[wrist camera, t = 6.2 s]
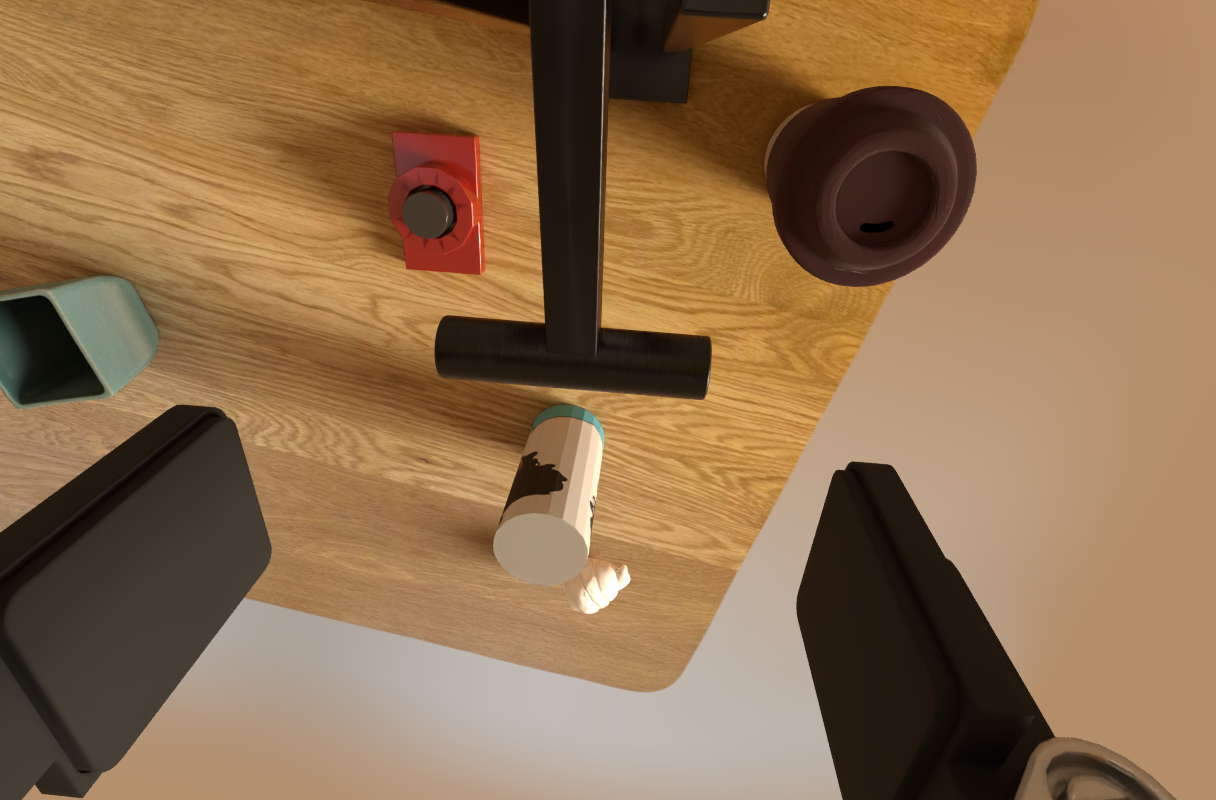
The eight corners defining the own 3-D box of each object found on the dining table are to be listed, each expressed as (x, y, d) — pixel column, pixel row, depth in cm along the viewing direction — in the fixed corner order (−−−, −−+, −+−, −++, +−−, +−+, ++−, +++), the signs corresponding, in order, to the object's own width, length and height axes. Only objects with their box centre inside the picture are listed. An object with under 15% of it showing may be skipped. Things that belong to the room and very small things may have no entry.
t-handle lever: (700, 356, 15) (703, 429, 13) (461, 336, 15) (434, 406, 14) (838, -356, 7) (886, -395, 5) (332, -377, 7) (229, -421, 6)
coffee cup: (800, 49, 40) (871, 43, 27) (920, 127, 42) (1040, 158, 29) (717, 187, 44) (742, 240, 31) (828, 253, 46) (896, 329, 33)
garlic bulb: (639, 573, 64) (637, 615, 59) (586, 586, 65) (580, 628, 60) (619, 535, 61) (616, 575, 56) (565, 549, 63) (558, 589, 58)
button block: (396, 129, 44) (380, 133, 42) (480, 135, 44) (468, 139, 41) (410, 265, 49) (396, 276, 46) (485, 270, 49) (476, 282, 46)
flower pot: (140, 252, 50) (44, 288, 42) (192, 350, 54) (113, 398, 46) (48, 267, 51) (-61, 304, 44) (105, 361, 55) (15, 411, 48)
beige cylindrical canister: (518, 418, 55) (475, 529, 42) (585, 394, 54) (562, 501, 41) (551, 475, 58) (520, 595, 45) (616, 453, 56) (603, 571, 43)
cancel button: (408, 186, 43) (399, 190, 42) (452, 189, 43) (445, 194, 42) (413, 231, 45) (404, 237, 44) (455, 234, 45) (448, 240, 43)
